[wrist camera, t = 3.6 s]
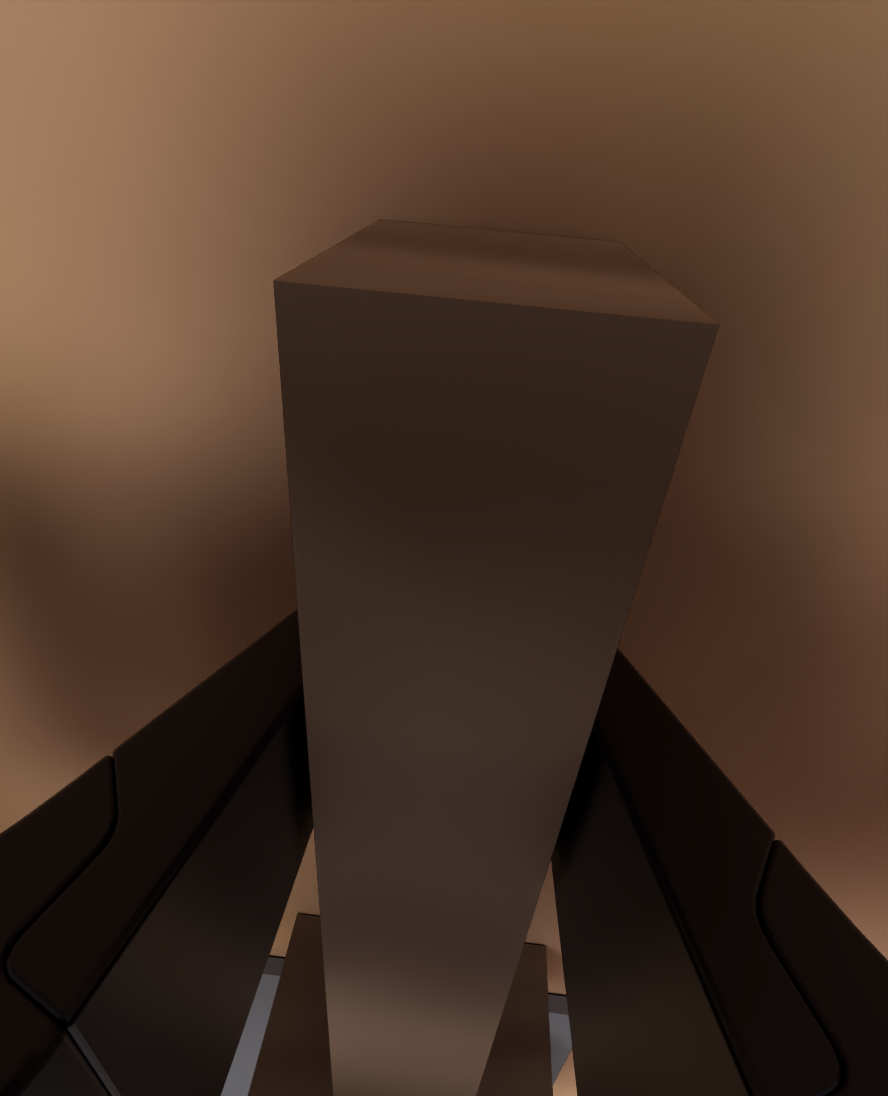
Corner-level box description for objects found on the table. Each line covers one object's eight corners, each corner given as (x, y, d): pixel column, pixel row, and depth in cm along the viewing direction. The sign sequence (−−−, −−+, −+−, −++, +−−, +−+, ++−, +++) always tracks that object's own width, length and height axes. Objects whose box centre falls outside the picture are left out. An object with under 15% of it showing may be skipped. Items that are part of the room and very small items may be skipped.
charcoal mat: (222, 1085, 22) (218, 1099, 22) (171, 943, 16) (164, 960, 16) (522, 1127, 22) (523, 1142, 22) (586, 999, 16) (588, 1017, 16)
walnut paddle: (215, 203, 6) (-324, 309, 2) (792, 258, 6) (1366, 486, 2) (299, 933, 15) (221, 1228, 11) (538, 965, 15) (551, 1276, 11)
